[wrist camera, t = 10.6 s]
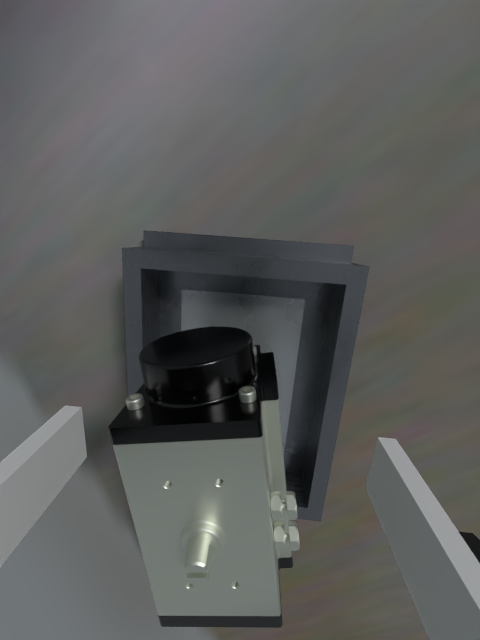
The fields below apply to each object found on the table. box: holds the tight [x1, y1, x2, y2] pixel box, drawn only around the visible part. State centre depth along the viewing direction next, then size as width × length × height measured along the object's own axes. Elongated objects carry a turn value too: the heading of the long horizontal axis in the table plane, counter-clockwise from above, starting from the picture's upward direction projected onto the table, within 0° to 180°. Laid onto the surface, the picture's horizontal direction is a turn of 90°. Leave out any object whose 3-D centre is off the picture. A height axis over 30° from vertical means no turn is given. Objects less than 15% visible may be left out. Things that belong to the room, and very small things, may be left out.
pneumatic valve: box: [108, 326, 300, 627], centre depth 14 cm, size 6×12×12 cm, turn 6°
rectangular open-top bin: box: [122, 231, 369, 521], centre depth 19 cm, size 19×13×4 cm
